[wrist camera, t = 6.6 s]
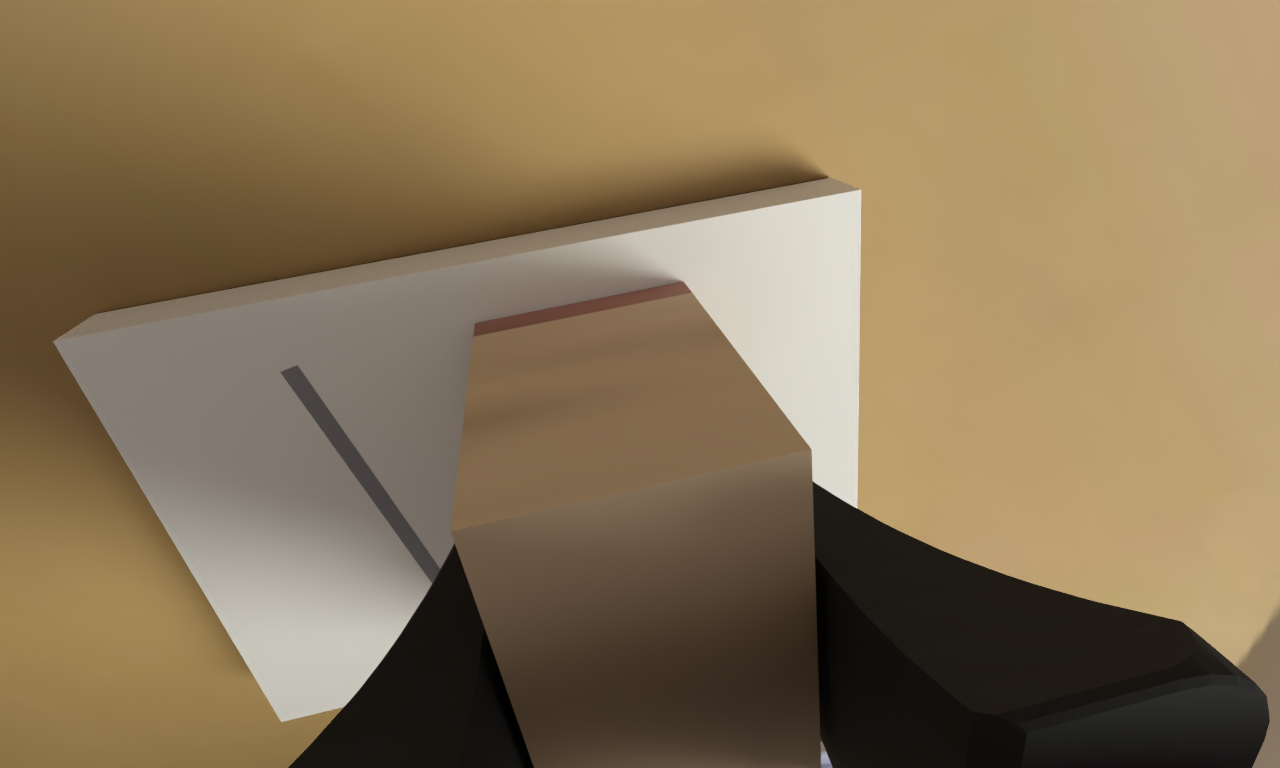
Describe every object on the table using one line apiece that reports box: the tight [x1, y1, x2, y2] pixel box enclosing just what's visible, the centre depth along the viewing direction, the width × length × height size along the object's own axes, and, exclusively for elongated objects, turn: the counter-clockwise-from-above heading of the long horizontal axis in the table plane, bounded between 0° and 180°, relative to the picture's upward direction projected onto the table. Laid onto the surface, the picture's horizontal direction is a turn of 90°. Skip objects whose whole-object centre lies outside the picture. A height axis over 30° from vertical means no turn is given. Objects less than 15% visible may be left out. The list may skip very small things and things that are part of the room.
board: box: [53, 178, 861, 722], centre depth 13 cm, size 9×13×1 cm
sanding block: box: [451, 282, 821, 768], centre depth 11 cm, size 7×4×6 cm, turn 8°
